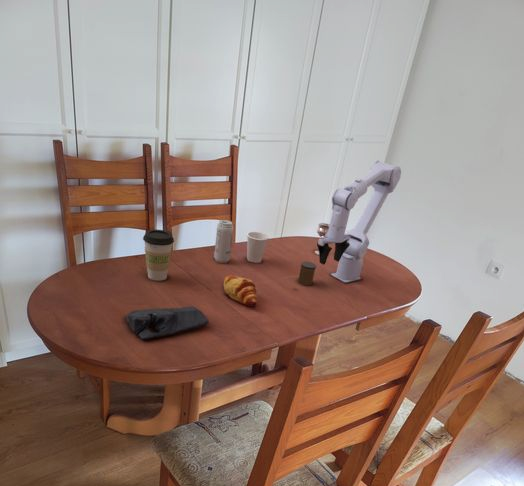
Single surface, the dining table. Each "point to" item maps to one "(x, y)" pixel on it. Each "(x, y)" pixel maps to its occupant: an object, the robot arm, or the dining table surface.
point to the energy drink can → (223, 241)
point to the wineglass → (322, 231)
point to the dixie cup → (256, 246)
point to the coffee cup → (158, 253)
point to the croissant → (240, 290)
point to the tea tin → (306, 273)
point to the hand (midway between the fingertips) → (329, 261)
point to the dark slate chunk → (165, 321)
